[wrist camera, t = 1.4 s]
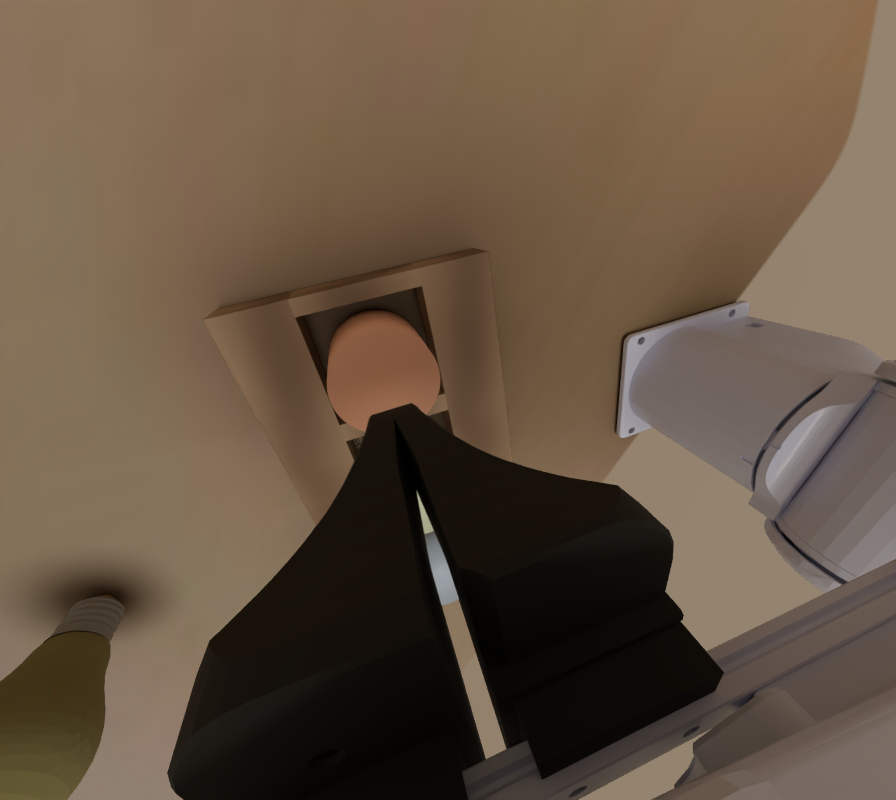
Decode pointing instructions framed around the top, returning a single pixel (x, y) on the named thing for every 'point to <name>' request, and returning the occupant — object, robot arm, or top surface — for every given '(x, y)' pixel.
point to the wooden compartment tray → (305, 381)
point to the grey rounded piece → (440, 570)
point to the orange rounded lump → (379, 367)
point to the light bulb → (57, 705)
